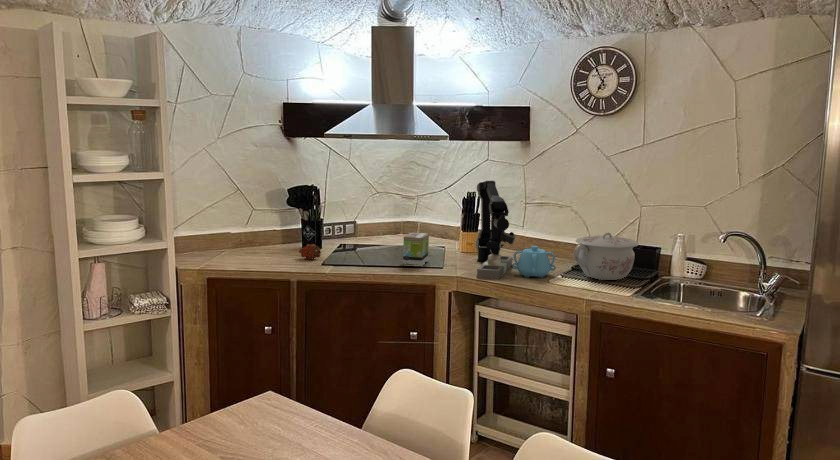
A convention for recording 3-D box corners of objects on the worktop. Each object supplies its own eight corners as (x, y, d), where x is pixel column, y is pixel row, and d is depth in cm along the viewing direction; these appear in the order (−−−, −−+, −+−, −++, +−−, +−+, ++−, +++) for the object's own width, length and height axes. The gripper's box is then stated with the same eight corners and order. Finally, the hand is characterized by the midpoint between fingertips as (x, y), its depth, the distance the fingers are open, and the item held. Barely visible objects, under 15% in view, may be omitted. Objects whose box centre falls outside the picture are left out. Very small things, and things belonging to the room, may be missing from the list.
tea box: (422, 268, 318) (423, 237, 316) (402, 266, 320) (402, 236, 318) (428, 261, 333) (429, 232, 331) (409, 260, 335) (409, 231, 333)
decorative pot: (559, 277, 302) (560, 247, 299) (530, 280, 294) (531, 250, 292) (536, 270, 316) (537, 242, 314) (508, 273, 308) (509, 244, 306)
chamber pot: (634, 273, 311) (636, 229, 308) (639, 286, 285) (642, 239, 282) (572, 269, 317) (574, 226, 314) (572, 282, 291) (574, 236, 288)
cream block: (487, 264, 308) (488, 256, 307) (490, 262, 313) (490, 254, 312) (498, 265, 306) (498, 256, 306) (500, 263, 311) (500, 254, 310)
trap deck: (476, 277, 298) (477, 269, 298) (492, 263, 330) (492, 255, 330) (499, 279, 295) (499, 270, 295) (512, 264, 327) (512, 256, 327)
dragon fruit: (321, 263, 333) (300, 265, 338) (326, 251, 339) (306, 253, 344) (314, 251, 328) (293, 253, 333) (319, 239, 334) (299, 241, 338)
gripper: (510, 231, 300) (509, 265, 302) (517, 225, 317) (516, 257, 320) (486, 229, 303) (485, 263, 305) (494, 224, 320) (493, 255, 323)
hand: (496, 259), depth 313 cm, fingers closed
